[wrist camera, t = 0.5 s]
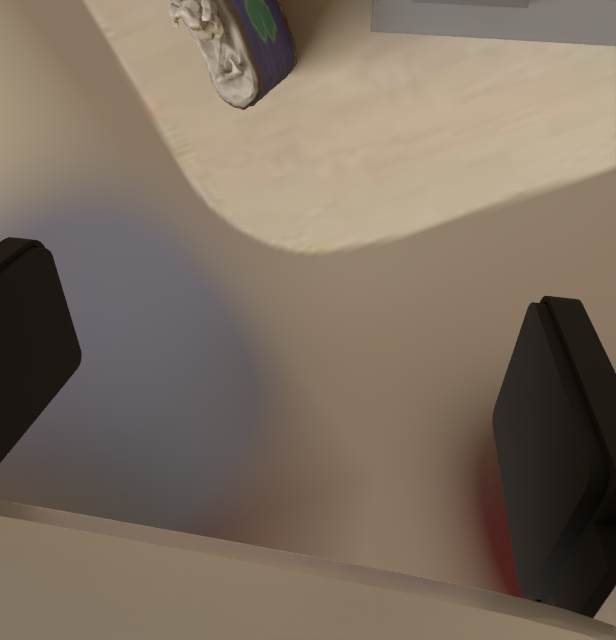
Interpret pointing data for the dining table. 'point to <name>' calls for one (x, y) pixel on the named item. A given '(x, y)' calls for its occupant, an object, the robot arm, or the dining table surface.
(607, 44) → the panel
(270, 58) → the flask
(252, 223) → the dining table surface
